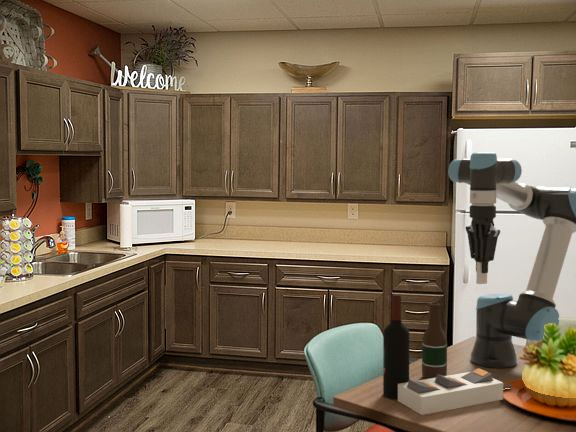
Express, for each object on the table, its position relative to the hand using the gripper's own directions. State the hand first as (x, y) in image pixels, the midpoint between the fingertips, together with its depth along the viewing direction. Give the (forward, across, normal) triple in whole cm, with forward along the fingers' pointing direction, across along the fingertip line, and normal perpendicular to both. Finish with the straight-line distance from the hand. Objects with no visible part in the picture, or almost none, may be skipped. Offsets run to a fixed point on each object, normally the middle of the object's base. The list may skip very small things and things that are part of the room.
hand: (481, 283), depth 201 cm
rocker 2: (+28, +4, -14) cm, 32 cm away
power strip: (+32, +4, -10) cm, 34 cm away
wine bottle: (+33, -6, -26) cm, 42 cm away
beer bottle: (+33, -15, -6) cm, 36 cm away
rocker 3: (+28, +4, -4) cm, 29 cm away
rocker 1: (+28, +4, -24) cm, 37 cm away
